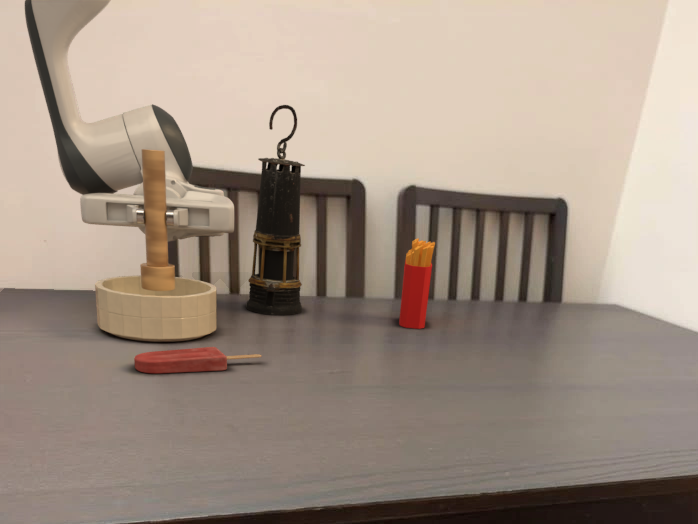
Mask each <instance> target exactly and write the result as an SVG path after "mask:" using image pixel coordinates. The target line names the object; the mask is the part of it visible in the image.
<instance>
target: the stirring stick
mask: <svg viewBox="0 0 698 524" xmlns="http://www.w3.org/2000/svg"><path fill="white" fill-rule="evenodd" d="M142 172H143V194H144V214H145V215H144V217H145V234H144V236H145V237H144V238H145V257H146V258H145V260H146V262H142V263H140V267H139V269H140V275H141V287H142V288H143V289H146V290H152V291H170V290H174V289H175V277H176V268H175V264H172V263H169V242H168V236H167V225H166V220H167V218H166V211H167V205H166V174H165V151H162V150H150V149H142Z"/></svg>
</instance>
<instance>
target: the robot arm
mask: <svg viewBox="0 0 698 524" xmlns="http://www.w3.org/2000/svg"><path fill="white" fill-rule="evenodd" d="M111 1H112V0H24V17H25V24H26V28H27V33H28V37H29V38H28V39H29V42H30V46H31V50H32V54H33V55H32V56H33V58H34V63H35V65H36V69H37V74H38V77H39V82H40V85H41V89H42V93H43V96H44V100H45V104H46V107H47V111H48V115H49V118H50V122H51V127H52V131H53V135H54V140H55V145H56V150H57V151H56V152H57V158H58V159H57V160H58V162H59V167H60V170H61V173H62V175H63V177H64V179H65V181H66V182H67V184H68V186H69V187H70V189H71V190H72V191H75V192H76V193H78V194H79V195H80V201H79V203H80V216H81V220H82V222H83V223H85V224H87V225H97V226H113V227H129V228H130V227H131V228H138V229H139V230H140V231H141V233H142V234H144V235H145V217H144V215H145V214H144V194H143V172H142V149H150V150H162V151H165V174H166V205H167V211H166V218H167V220H166V225H167V236H168V243H170V242H175V241H177V240H185V239H190V238H194V237H195V238H199V237H200V238H201V237H203V238H204V237H211V238H213V237H221V236H223V235H224V234H232V233H234V231H235V205H234V202H233V201H232V200H231V199H230V198H229V197H227V196H225V192H224V191H223V190H222V189H216V188H213V187H206V186H201V185H197V184H195V185H194V184H191V183H190V179H191V177H192V173H193V169H194V164H193V161H192V156H191V153H190V149H189V147H188V143H187V141H186V139H185V137H184V134H183V132H182V130H181V129H180V126H179V124H178V123H177V121H176V120H175V118H174V117H173V116H172V115H171V114H170V113H169V112H168V111H166V110H165V109H164V108H162V107H161V106H158V105H156V104H150V105H146V106H142V107H138V108H135V109H131V110H127V111H125V112H122V113H120V114H117V115H114V116H111V117H107V118H104V119H100V120H97V121H93V122H86V121H84V120H83V119H82V116H81V112H80V108H79V104H78V100H77V95H76V92H75V88H74V83H73V79H72V75H71V72H70V71H71V70H70V67H69V60H68V59H69V57H68V56H69V50H70V47H71V44H72V42H73V40H75V37H76V36H78V34H79V33H80V32H81V31H82V30H83V29H84V28H85V27H87V25H88V24H89V23H90V22H92V21H93V20H94V19H95V18H96V17H98V15H99V14H100V13H102V11H103V10H105V8H106V7H107V6H108V5H109V3H110V2H111ZM134 186H137V187H136V188H135V190H134V193H133V194H126V193H118V191H121V190H125V189H128V188H130V187H134Z"/></svg>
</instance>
